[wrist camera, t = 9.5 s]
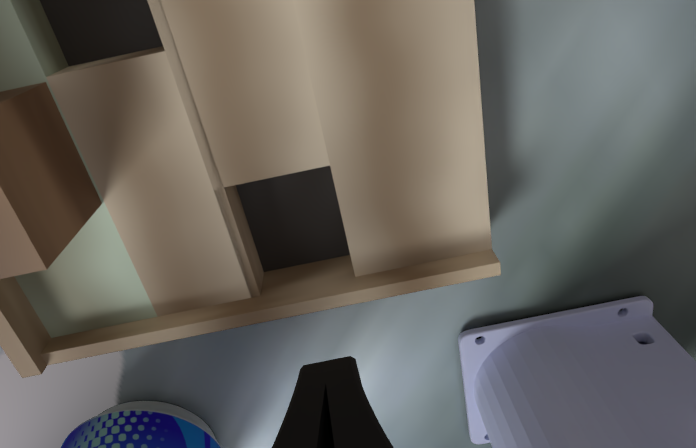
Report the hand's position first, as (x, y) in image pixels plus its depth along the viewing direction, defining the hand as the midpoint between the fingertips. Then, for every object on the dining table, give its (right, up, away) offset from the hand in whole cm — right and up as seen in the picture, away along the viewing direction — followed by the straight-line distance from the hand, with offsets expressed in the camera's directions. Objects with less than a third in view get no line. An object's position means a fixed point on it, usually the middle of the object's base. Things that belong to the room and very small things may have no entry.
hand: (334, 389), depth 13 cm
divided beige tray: (-5, +9, +6) cm, 12 cm away
